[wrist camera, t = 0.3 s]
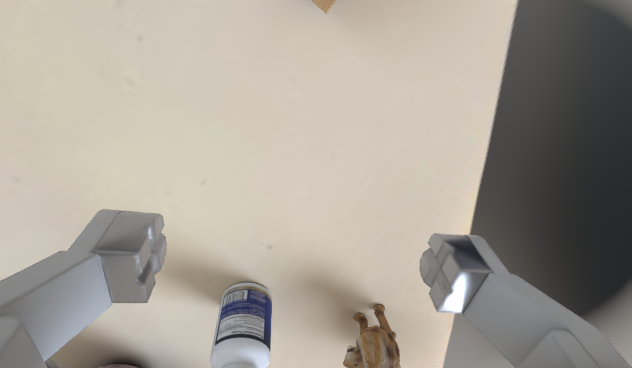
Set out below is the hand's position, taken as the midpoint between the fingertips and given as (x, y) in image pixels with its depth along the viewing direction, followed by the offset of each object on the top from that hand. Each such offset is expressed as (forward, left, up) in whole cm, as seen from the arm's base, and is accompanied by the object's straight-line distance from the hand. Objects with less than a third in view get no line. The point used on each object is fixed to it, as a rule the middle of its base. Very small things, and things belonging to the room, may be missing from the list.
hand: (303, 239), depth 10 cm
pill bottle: (+23, -3, -16) cm, 29 cm away
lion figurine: (+28, +12, -16) cm, 35 cm away
